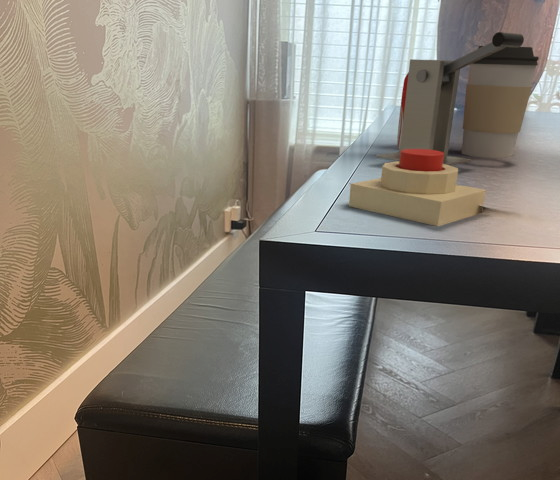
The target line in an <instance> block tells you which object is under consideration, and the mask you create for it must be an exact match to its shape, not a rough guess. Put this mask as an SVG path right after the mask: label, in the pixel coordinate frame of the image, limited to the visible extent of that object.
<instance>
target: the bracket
mask: <svg viewBox="0 0 560 480" xmlns="http://www.w3.org/2000/svg"><path fill="white" fill-rule="evenodd" d="M452 61H453V60H451V59H450V60H448V59H447V60H446V59H445V60H444V59H415V58H413V59H409V66H408V72H409V74H408V73H407V74H408V83H407V91H406V100H405V109H404V118H403V127H402V136H401V144H400V149H399V151H394V152H388V153H381V154H375V156H374V158H376V159H382V160H389V161H393V162H396V161H399V160H400V151H401V150H404V149H428V150H436V151H441V152H443V153H444V159H443V164H445V165H450V166H455V165H461V164H466V163H471V162H472V159H471V158H466V157H458V156H451V155H448V153H449V147H450V141H451V133H452V127H453V120H454V113H455V106H456V100H457V94H458V87H459V80H460V73H461V69H459V70H457V71H455V72H453V73H451V74H449V80H450V81H449V82H447V83H445V84H443V85H442V77H443V70H444V63H445V62H446V64H448V63H450V62H452Z"/></svg>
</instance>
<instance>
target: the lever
mask: <svg viewBox="0 0 560 480" xmlns="http://www.w3.org/2000/svg"><path fill="white" fill-rule="evenodd" d="M524 41H525V38H524V35H522V34H521V33H514V32H503V31H499V32H496V33H495V34H494V35H493V36H492V39H491V42H489V43H487V44H485V45H482V46H483V47H481V48H479V47H478V48H479V49H478V48H476V49H475V50H473V51H470V52H468V53H467V54H465V55H462V56H461V57H459V58H456V59H455V60H451V61H452V62H450V63H448V64H446V62H445V63H444V70H443V77H442V85H443V84H445V83H447V82H449V81H450V80H449V74H451V73H453V72H455V71H457V70H459V69H460V70H461V69H463V68H466V67H469V65H470V64H472V63H474V62H476V61H478V60H480V59H482V58H484V57H486V56H489V55H491V54H493V53H495V52H497V51H499V50H501V49H503V48H505V47H510V48H518V47H522V45H523V44H524Z"/></svg>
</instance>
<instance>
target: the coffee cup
mask: <svg viewBox="0 0 560 480" xmlns="http://www.w3.org/2000/svg"><path fill="white" fill-rule="evenodd" d="M483 46H484V45H478V47H477V49H479V48H481V47H483ZM539 60H540V57H539V56H535V54H534V50H533V47H532V46H520V47H518V48H510V47H505V48H503V49H501V50H499V51H497V52H495V53H493V54H491V55H489V56H486V57H484V58H482V59H480V60H478V61H476V62H474V63H472V64H470V65H468V74H467V76H468V77H467V83H466V86H465V87H466V89H465V98H464V107H463V108H464V109H463V119H462V120H463V121H462V129H463V132H462V133H463V134H462V142H461V143H462V144H461V154H462V155H465V156H468V157H475V158H483V159H509V158H512V157H513V154H514V152H515V151H514V150H515V147H516V143H517V139H518V136H519V133H520V132H521V129H522V126H523V121H524V119H525V114H526V111H527V107H528V103H529V99H530V96H531V92H532V88H533V86H532V84H533V79H534V75H535V72H536V68H537V66H539V64H538V61H539Z"/></svg>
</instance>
